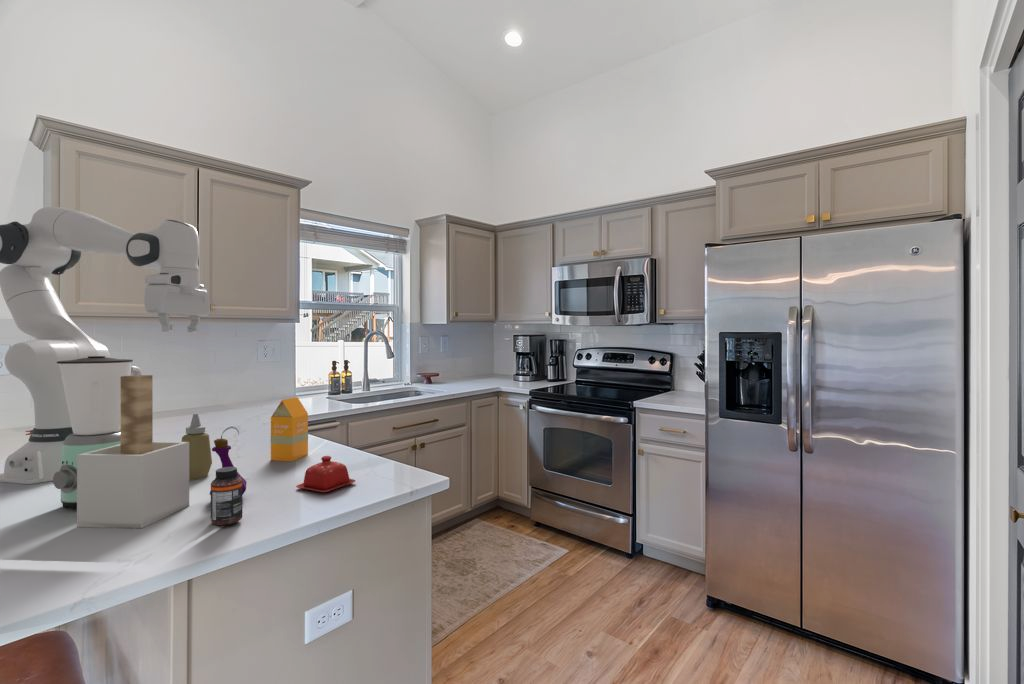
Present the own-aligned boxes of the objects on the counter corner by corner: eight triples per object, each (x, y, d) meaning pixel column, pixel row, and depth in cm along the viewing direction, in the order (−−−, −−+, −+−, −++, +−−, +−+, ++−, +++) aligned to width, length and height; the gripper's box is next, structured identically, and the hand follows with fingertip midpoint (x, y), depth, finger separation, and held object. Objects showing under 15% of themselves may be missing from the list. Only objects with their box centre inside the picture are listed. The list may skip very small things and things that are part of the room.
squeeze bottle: (218, 474, 143) (218, 412, 143) (198, 482, 135) (198, 416, 135) (192, 473, 144) (192, 411, 144) (171, 481, 136) (171, 416, 136)
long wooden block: (120, 514, 108) (120, 376, 108) (135, 507, 112) (135, 375, 112) (138, 514, 107) (138, 376, 107) (152, 508, 111) (152, 375, 111)
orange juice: (270, 462, 157) (270, 399, 157) (287, 456, 166) (287, 396, 166) (292, 463, 156) (292, 400, 156) (308, 457, 165) (308, 397, 165)
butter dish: (293, 490, 129) (293, 458, 129) (328, 479, 139) (328, 449, 139) (324, 497, 123) (324, 463, 123) (358, 485, 134) (358, 453, 134)
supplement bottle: (219, 516, 109) (219, 465, 109) (247, 515, 109) (247, 464, 109) (204, 526, 103) (204, 472, 103) (234, 526, 104) (234, 472, 103)
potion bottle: (209, 507, 115) (209, 430, 115) (211, 498, 121) (212, 425, 121) (246, 503, 118) (246, 427, 118) (246, 494, 125) (246, 423, 125)
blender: (81, 516, 109) (81, 357, 109) (35, 511, 112) (35, 357, 112) (160, 491, 127) (160, 355, 127) (119, 487, 130) (119, 354, 130)
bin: (77, 526, 103) (76, 454, 103) (132, 504, 117) (132, 441, 117) (141, 528, 102) (141, 455, 102) (189, 505, 116) (189, 441, 116)
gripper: (195, 285, 144) (195, 332, 144) (139, 276, 124) (139, 331, 124) (216, 285, 144) (216, 332, 144) (163, 275, 123) (163, 331, 123)
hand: (180, 332), depth 134 cm, fingers open, 8 cm apart
